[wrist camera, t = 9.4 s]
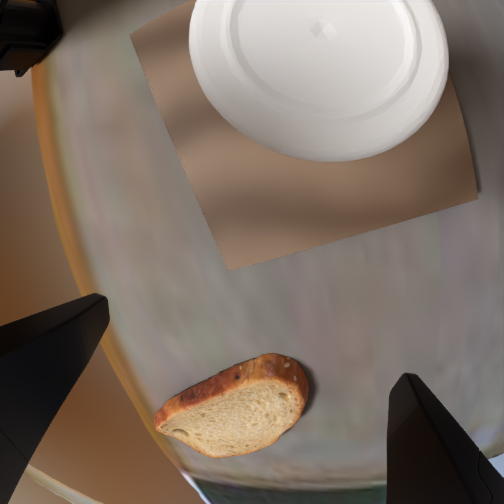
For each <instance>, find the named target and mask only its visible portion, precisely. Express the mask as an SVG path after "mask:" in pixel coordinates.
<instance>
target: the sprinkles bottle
mask: <svg viewBox="0 0 504 504" xmlns="http://www.w3.org/2000/svg"><path fill="white" fill-rule="evenodd" d="M189 51H190V57H191V61H192V65H193V69H194V72H195V74H196V77H197V80H198V82H199V84H200V86H201V88H202V90H203V92H204V94H205V95H206V97H207V99H208V100H209V101H210V103H211V104H212V105H213V107H214V108H215V109H216V110H217V111H218V112H219V113H220V115H221V116H222V117H223V118H225V119H226V120H227V121H228V122H229V123H230V124H231V125H232V126H233V127H234V128H235V129H237V130H238V131H239V132H241V133H242V134H243V135H245V136H246V137H248V138H249V139H251V140H253V141H255V142H256V143H258V144H260V145H262V146H264V147H266V148H268V149H271V150H273V151H276V152H278V153H281V154H284V155H287V156H291V157H295V158H298V159H304V160H311V161H321V162H342V161H353V160H358V159H363V158H367V157H371V156H374V155H377V154H379V153H382V152H385V151H387V150H389V149H391V148H393V147H395V146H396V145H398V144H400V143H402V142H404V141H405V140H406V139H408V138H409V137H410V136H411V135H413V134H414V133H415V132H416V131H418V129H419V128H420V127H421V126H422V125H423V124H424V123H425V122H426V121H427V120H428V119H429V117H430V116H431V114H432V113H433V111H434V110H435V108H436V107H437V105H438V102H439V100H440V98H441V95H442V93H443V91H444V88H445V85H446V81H447V75H448V67H449V50H448V43H447V37H446V33H445V29H444V26H443V23H442V20H441V18H440V16H439V13H438V11H437V9H436V7H435V6H434V4H433V2H432V0H197V1H196V3H195V7H194V10H193V12H192V16H191V21H190V29H189Z"/></svg>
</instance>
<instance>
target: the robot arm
mask: <svg viewBox="0 0 504 504" xmlns="http://www.w3.org/2000/svg"><path fill="white" fill-rule="evenodd" d="M57 33H58V34H57ZM62 35H63V29H62V26H61V22H60V18H59V14H58V10H57V6H56V1H55V0H0V71H3V70H14V71H15V75H16V77H22V76H23V75H24V74H25V73H26V72H27V70H28V69H29V68H30V67H31V66H32V65H33V64H34V63H35V62H36V61H37V60H38V59H39V58H40V57H41V56H42V55H43V54H44V53H45V52H46V51H47V50H48V49H49V48H50V47H51V46H52V45H53V44H54V43H56V42H57V41H58V40H59V39H60V38H61V37H62ZM109 320H110V315H109V306H108V299H107V297H105V296H103V295H101V294H98V293H93V294H90V295H87V296H84V297H81V298H78V299H76V300H73V301H70V302H67V303H64V304H61V305H58V306H56V307H53V308H50V309H47V310H44V311H41V312H39V313H36V314H33V315H30V316H28V317H24V318H22V319H19V320H16V321H14V322H11V323H8V324H5V325H2V326H0V504H8V502H9V500H10V498H11V496H12V494H13V492H14V490H15V488H16V486H17V484H18V482H19V480H20V478H21V476H22V474H23V472H24V471H25V469H26V467H27V465H28V463H29V461H30V459H31V457H32V455H33V453H34V452H35V450H36V448H37V446H38V444H39V443H40V441H41V439H42V437H43V436H44V434H45V432H46V430H47V429H48V427H49V425H50V423H51V422H52V420H53V418H54V417H55V415H56V414H57V412H58V410H59V408H60V407H61V405H62V404H63V402H64V401H65V399H66V397H67V396H68V394H69V393H70V391H71V389H72V388H73V386H74V384H75V383H76V381H77V380H78V378H79V377H80V375H81V374H82V372H83V370H84V369H85V367H86V366H87V364H88V363H89V361H90V359H91V357H92V355H93V353H94V351H95V349H96V347H97V345H98V343H99V342H100V340H101V338H102V336H103V334H104V332H105V330H106V328H107V326H108V324H109ZM386 504H504V478H503V477H502V476H501V475H500V473H499V472H498V471H497V470H496V469H495V468H494V467H493V466H492V464H491V463H490V462H489V461H488V459H487V458H486V457H485V456H484V454H483V453H482V452H481V451H479V448H478V447H477V446H476V444H475V443H474V442H473V441H472V439H471V438H470V437H469V436H468V435H467V433H466V432H465V431H464V430H463V428H462V427H461V426H460V425H459V424H458V422H457V421H456V420H455V419H454V418H453V416H452V415H451V414H450V413H449V412H448V410H447V409H446V408H445V407H444V406H443V404H442V403H441V402H440V401H439V400H438V399H437V397H436V396H435V395H434V394H433V393H432V392H431V390H430V389H429V388H428V387H427V386H426V385H425V383H424V382H423V381H422V380H421V379H420V378H419V377H418V375H416V374H413V373H404V374H402V375H401V377H400V378H399V380H398V381H397V383H396V384H395V385H394V387H393V388H392V390H391V392H390V395H389V410H388V426H387V497H386Z"/></svg>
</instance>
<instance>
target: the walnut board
mask: <svg viewBox="0 0 504 504" xmlns="http://www.w3.org/2000/svg"><path fill="white" fill-rule="evenodd" d="M196 1H197V0H190V1H188V2H186V3H184V4H182V5H180V6H178V7H176V8H174V9H172V10H170V11H168V12H167V13H165V14H163V15H161V16H159V17H158V18H156V19H154V20H152V21H151V22H149V23H147V24H146V25H144V26H142V27H141V28H139V29H137V30H136V31H134V32H133V33H131V34H130V38H131V40H132V43H133V45H134V48H135V51H136V53H137V56H138V58H139V61H140V64H141V66H142V69H143V71H144V74H145V76H146V79H147V81H148V84H149V86H150V89H151V91H152V94H153V96H154V99H155V101H156V104H157V106H158V109H159V111H160V113H161V116H162V118H163V121H164V123H165V126H166V128H167V130H168V133H169V135H170V138H171V140H172V142H173V145H174V147H175V150H176V152H177V154H178V157H179V159H180V161H181V164H182V166H183V168H184V171H185V173H186V175H187V178H188V180H189V182H190V185H191V187H192V189H193V192H194V194H195V196H196V199H197V201H198V203H199V205H200V208H201V210H202V212H203V215H204V217H205V219H206V221H207V224H208V226H209V228H210V230H211V233H212V235H213V237H214V239H215V242H216V244H217V246H218V248H219V250H220V253H221V255H222V257H223V259H224V262H225V264H226V266H227V268H228V270H229V271H231V270H234V269H238V268H241V267H245V266H249V265H252V264H256V263H259V262H263V261H267V260H270V259H274V258H277V257H281V256H284V255H288V254H291V253H295V252H299V251H302V250H306V249H309V248H313V247H316V246H320V245H323V244H327V243H330V242H334V241H337V240H341V239H344V238H347V237H351V236H354V235H358V234H361V233H365V232H368V231H372V230H375V229H378V228H382V227H385V226H389V225H392V224H396V223H399V222H402V221H406V220H409V219H412V218H416V217H419V216H423V215H426V214H429V213H433V212H436V211H439V210H443V209H446V208H449V207H453V206H456V205H459V204H463V203H466V202H469V201H472V200H476V199H478V193H477V186H476V179H475V172H474V166H473V161H472V156H471V151H470V146H469V141H468V136H467V132H466V128H465V124H464V120H463V116H462V112H461V109H460V105H459V102H458V98H457V95H456V92H455V89H454V85H453V82H452V79H451V76H450V73H449V71H448V75H447V81H446V85H445V88H444V91H443V93H442V95H441V98H440V100H439V102H438V105H437V107H436V108H435V110H434V111H433V113H432V114H431V116H430V117H429V119H428V120H427V121H426V122H425V123H424V124H423V125H422V126H421V127H420V128H419V129H418V131H416V132H415V133H414V134H413V135H411V136H410V137H409V138H408V139H406V140H405V141H404V142H402V143H400V144H398V145H396V146H395V147H393V148H391V149H389V150H387V151H385V152H382V153H379V154H377V155H374V156H371V157H367V158H363V159H358V160H353V161H342V162H321V161H311V160H304V159H298V158H295V157H291V156H287V155H284V154H281V153H278V152H276V151H273V150H271V149H268V148H266V147H264V146H262V145H260V144H258V143H256V142H255V141H253V140H251V139H249V138H248V137H246V136H245V135H243V134H242V133H241V132H239V131H238V130H237V129H235V128H234V127H233V126H232V125H231V124H230V123H229V122H228V121H227V120H226V119H225V118H223V117H222V116H221V115H220V113H219V112H218V111H217V110H216V109H215V108H214V107H213V105H212V104H211V103H210V101H209V100H208V99H207V97H206V95H205V94H204V92H203V90H202V88H201V86H200V84H199V82H198V80H197V77H196V74H195V72H194V69H193V65H192V61H191V57H190V51H189V29H190V21H191V16H192V12H193V10H194V7H195V3H196Z"/></svg>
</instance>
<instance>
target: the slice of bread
mask: <svg viewBox="0 0 504 504" xmlns="http://www.w3.org/2000/svg"><path fill="white" fill-rule="evenodd" d="M308 392H309V386H308V380H307V377H306V375H305V373H304V371H303V369H302V368H301V367H300V366H299V364H298V363H297V362H296V361H295V360H293V359H291V358H289V357H287V356H284V355H280V354H277V353H268V354H263V355H260V356H258V357H257V358H254V359H250V360H247V361H245V362H243V363H240V364H235V365H233V366H232V367H230V368H229V369H226V370H223V371H221V372H219V373H218V374H217V375H215V376H213V377H211V378H208V379H207V380H205V381H203V382H201V383H199V384H196V385H194V386H192V387H191V388H189V389H187V390H185V391H183V392H181V393H179V394H178V395H176V396H175V397H173V398H171V399H169V400H168V401H167V402H165V403H164V405H163V407H162V408H161V409H159V410H158V411H157V413H156V414H155V416H154V424H155V427H156V430H158V431H159V432H162V433H163V434H165V435H169V436H171V437H174V438H176V439H178V440H180V441H182V442H183V443H185V444H187V445H188V446H190V447H191V448H193V449H194V450H196V451H197V452H199V453H201V454H203V455H206V456H208V457H211V458H223V457H229V456H237V455H246V454H248V453H251V452H256V451H258V450H260V449H261V448H265V447H267V446H269V445H271V444H273V443H275V442H276V441H277V440H278V439H279V437H280V435H281V434H282V433H283V432H285V431H286V430H287V429H289V428H290V427H292V426H293V425H294V424H295V423H296V422H297V421H298V419H299V418H300V416H301V415H302V412H303V410H304V407H305V404H306V402H307V398H308Z"/></svg>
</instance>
